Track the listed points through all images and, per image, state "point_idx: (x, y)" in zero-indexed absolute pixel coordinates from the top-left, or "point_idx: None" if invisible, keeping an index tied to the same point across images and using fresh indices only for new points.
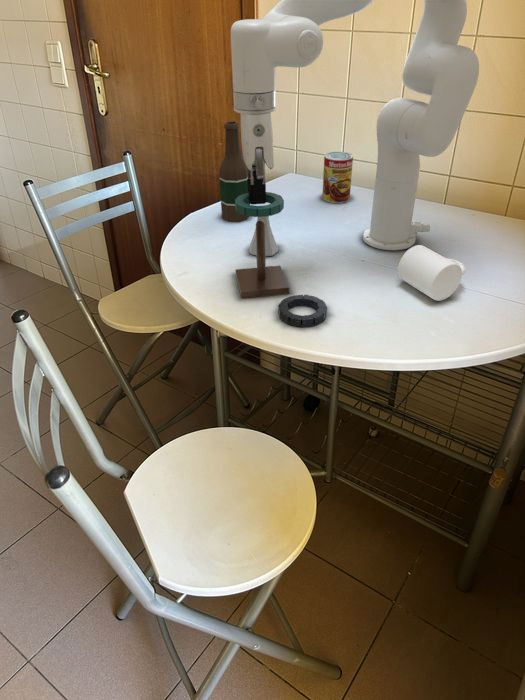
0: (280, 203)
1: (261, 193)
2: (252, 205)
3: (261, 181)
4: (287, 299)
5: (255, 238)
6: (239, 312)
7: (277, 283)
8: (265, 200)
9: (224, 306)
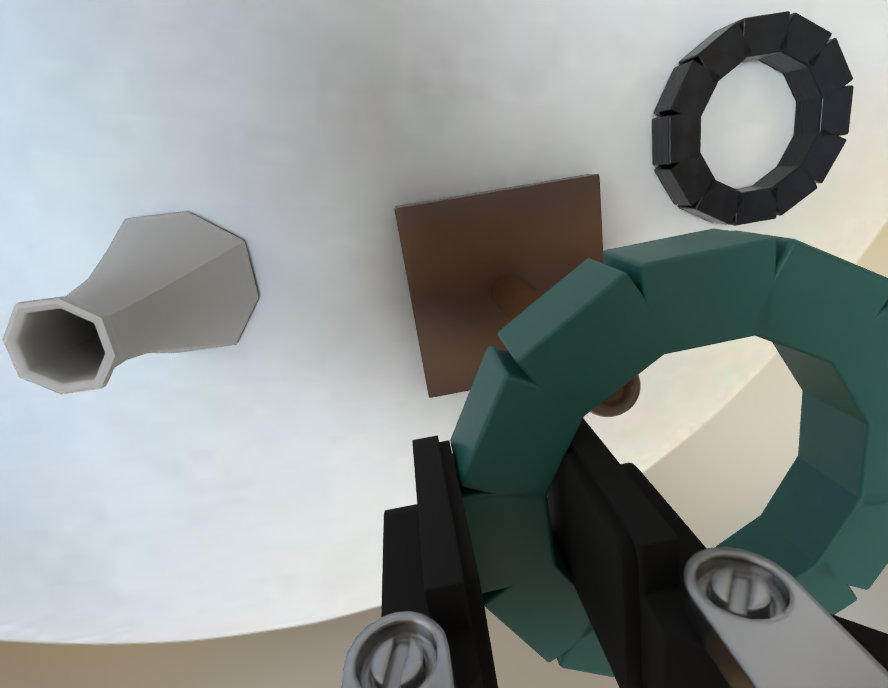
0: (870, 279)
1: (666, 508)
2: (840, 543)
3: (863, 643)
4: (695, 186)
5: (194, 341)
6: (683, 355)
7: (561, 225)
8: (582, 420)
9: (639, 404)
